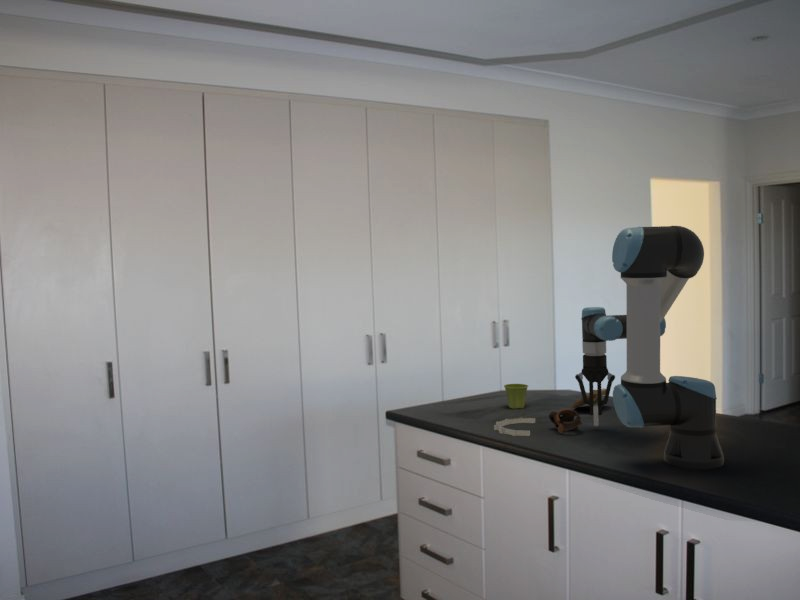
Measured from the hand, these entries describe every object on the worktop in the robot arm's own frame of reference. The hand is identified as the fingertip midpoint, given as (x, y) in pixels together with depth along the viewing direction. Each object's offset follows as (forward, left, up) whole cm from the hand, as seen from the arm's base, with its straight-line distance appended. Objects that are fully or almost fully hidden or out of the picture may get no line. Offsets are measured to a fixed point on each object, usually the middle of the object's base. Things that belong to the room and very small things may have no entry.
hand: (596, 424), depth 223 cm
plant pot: (+34, +30, -2) cm, 45 cm away
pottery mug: (0, +10, -3) cm, 11 cm away
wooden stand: (+29, 0, -3) cm, 30 cm away
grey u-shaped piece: (0, +23, -2) cm, 23 cm away
